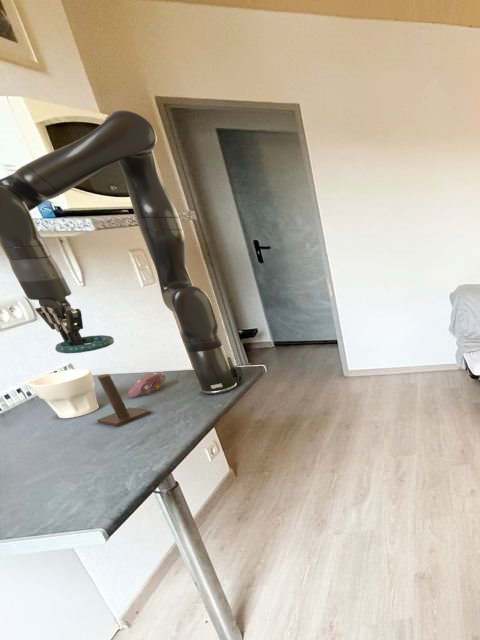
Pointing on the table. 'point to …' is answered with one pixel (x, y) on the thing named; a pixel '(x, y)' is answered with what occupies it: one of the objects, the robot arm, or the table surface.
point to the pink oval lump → (147, 384)
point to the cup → (67, 392)
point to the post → (118, 405)
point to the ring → (94, 341)
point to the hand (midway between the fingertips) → (76, 345)
